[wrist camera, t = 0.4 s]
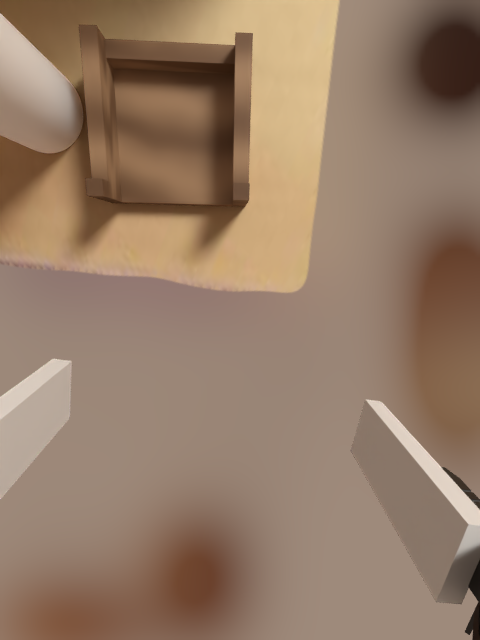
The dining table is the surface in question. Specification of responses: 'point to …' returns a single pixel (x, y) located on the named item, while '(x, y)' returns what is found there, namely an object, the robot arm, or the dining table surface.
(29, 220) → the dining table surface
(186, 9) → the dining table surface
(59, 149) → the cup
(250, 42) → the tray
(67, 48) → the dining table surface
